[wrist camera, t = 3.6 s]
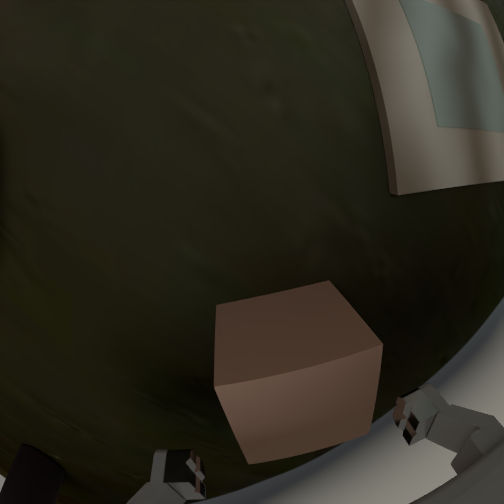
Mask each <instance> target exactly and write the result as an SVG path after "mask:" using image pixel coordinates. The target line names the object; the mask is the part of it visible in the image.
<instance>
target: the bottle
mask: <svg viewBox="0 0 504 504" xmlns="http://www.w3.org/2000/svg"><path fill="white" fill-rule="evenodd" d="M63 478H64V471H63V469H62V468H61V467H60V466H59V465H58V464H57V463H56V462H55V461H54V460H52V459H51V458H50V457H48V456H47V455H45V454H44V453H42V452H40V451H39V450H37V449H35V448H33V447H31V446H28V445H22V446H21V447H20V449H19V451H18V453H17V455H16V457H15V459H14V461H13V463H12V466H11V468H10V470H9V472H8V475H7V477H6V480H5V482H4V485H3V487H2V490H1V492H0V504H55V503H56V500H57V496H58V493H59V490H60V487H61V484H62V481H63Z"/></svg>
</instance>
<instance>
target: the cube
mask: <svg viewBox="0 0 504 504" xmlns="http://www.w3.org/2000/svg"><path fill="white" fill-rule="evenodd" d="M382 350H383V343H382V342H381V341H380V340H379V338H378V337H377V336H376V335H375V334H374V332H373V331H372V330H371V329H370V328H369V326H368V325H367V324H366V323H365V322H364V320H363V319H362V318H361V317H360V316H359V314H358V313H357V312H356V311H355V310H354V309H353V307H352V306H351V305H350V304H349V303H348V301H347V300H346V299H345V298H344V297H343V296H342V294H341V293H340V292H339V291H338V290H337V289H336V288H335V286H334V285H333V284H332V283H331V282H330V281H329V280H328V281H324V282H320V283H316V284H312V285H307V286H303V287H299V288H295V289H290V290H286V291H281V292H277V293H272V294H268V295H263V296H258V297H254V298H249V299H244V300H239V301H234V302H229V303H224V304H219V305H216V325H215V357H214V388H215V391H216V393H217V396H218V398H219V400H220V403H221V405H222V407H223V410H224V412H225V414H226V417H227V419H228V421H229V423H230V426H231V428H232V430H233V432H234V435H235V437H236V439H237V441H238V443H239V445H240V447H241V450H242V452H243V454H244V456H245V458H246V460H247V462H248V464H254V463H261V462H266V461H272V460H277V459H282V458H287V457H292V456H296V455H300V454H304V453H308V452H312V451H316V450H319V449H323V448H326V447H330V446H333V445H336V444H339V443H343V442H346V441H349V440H351V439H354V438H357V437H360V436H363V435H365V434H368V433H369V431H370V427H371V422H372V417H373V412H374V407H375V401H376V395H377V389H378V382H379V375H380V367H381V359H382Z"/></svg>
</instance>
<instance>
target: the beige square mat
mask: <svg viewBox="0 0 504 504" xmlns="http://www.w3.org/2000/svg"><path fill="white" fill-rule="evenodd" d="M344 1H345V3H346V6H347V8H348V11H349V13H350V16H351V19H352V21H353V24H354V27H355V30H356V33H357V36H358V39H359V42H360V45H361V48H362V51H363V55H364V58H365V62H366V65H367V69H368V72H369V76H370V80H371V84H372V88H373V92H374V97H375V101H376V106H377V110H378V115H379V120H380V126H381V131H382V137H383V143H384V150H385V157H386V164H387V172H388V181H389V191H390V194H394V195H403V194H410V193H416V192H423V191H429V190H436V189H443V188H450V187H457V186H465V185H472V184H480V183H488V182H496V181H504V43H503V40H502V38H501V35H500V33H499V30H498V28H497V25H496V23H495V21H494V19H493V17H492V14H491V12H490V10H489V8H488V6H487V4H485V3H484V2H482V1H480V0H344Z"/></svg>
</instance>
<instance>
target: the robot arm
mask: <svg viewBox="0 0 504 504" xmlns="http://www.w3.org/2000/svg"><path fill="white" fill-rule="evenodd" d="M396 404H397V407H396V408H395V409H394V412H393V417H394V421H395V423H396V425H397V427H398V428H399V429H402V430H403V437H404V438H405V440H406V442H407V443H408V445H409V446H410V445H412V444H414V443H416V442H418V441H420V440H422V439H424V438H426V439H428V440H430V441H432V442H434V443H437V444H439V445H441V446H443V447H445V448H447V449H449V450H451V451H454V452H456V453H458V454H457V455H456V457H455V458H454V459H453V461H452V463H451V465H452V467H453V469H454V470H455V472H456V473H457V476H455V477H454V478H452V479H451V480H449V481H447V482H446V483H444V484H443V485H441V486H440V487H438V488H436V489H435V490H433V491H431V492H430V493H428V494H426V495H424V496H423V497H421V498H419V499H417V500H415V501H414V502H411V503H409V504H504V427H503V426H502V425H501V424H500V423H499V422H498V420H497V419H496V418H495V417H494V416H491V415H488V414H484V413H481V412H477V411H473V410H470V409H466V408H463V407H460V406H456V405H453V404H452V405H450V406H449V404H448V403H447V402H446V401H445V400H444V398H443V397H442V396H441V395H440V394H439V393H438V392H437V390H436V389H435V388H434V387H433V386H432V385H431V384H430V383H426V384H424V385H422V386H420V387H418V388H416V389H414V390H412V391H410V392H408V393H406V394H404V395H402V396H400V397H398V398H397V400H396ZM204 478H205V469H204V464H203V462H202V460H201V459H200V458H199V457H197V456H196V452H195V450H194V449H180V450H156V452H155V453H154V459H153V466H152V473H151V480H150V482H147V483H146V484H145V485H144V486H143V487H142V488H141V489H140V490H139V491H138V492H137V493H136V494H135V495H134V496H133V497H132V498H131V499H130V500H129V501H128V502H127V503H126V504H184V502H185V500H189V499H205V485H204V484H203V483H202V482H201V481H202V480H203V479H204Z"/></svg>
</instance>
